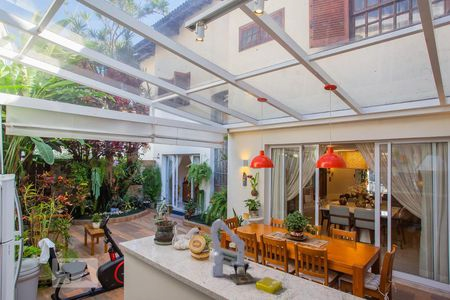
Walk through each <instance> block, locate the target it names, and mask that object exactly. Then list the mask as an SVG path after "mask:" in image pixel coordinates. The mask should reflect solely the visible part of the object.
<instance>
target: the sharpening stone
mask: <svg viewBox="0 0 450 300" xmlns="http://www.w3.org/2000/svg"><path fill="white" fill-rule="evenodd" d="M220 250H221V252H222V254H223V256H224V259H223V260H222V261H223V265H226V266H229V267H232V262H237V251H235V250H230V249H228V248H226V247H225V248H224V247H220Z"/></svg>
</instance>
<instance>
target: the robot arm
mask: <svg viewBox="0 0 450 300" xmlns="http://www.w3.org/2000/svg"><path fill="white" fill-rule="evenodd" d="M218 230H223V231H224V232H225V233H226V234H227V235H228V236H229V237H230V240H231V241H232V243H234V244H235V246H236V248H237V251H236V252H237V262H232V265H231V267H233V270H234V274H236V275H237V273H238V266H243V268H244V273H245V274H246V272H247V270H248V269H249V267H250V263H251V262H250V261H249V260H245V254H246V253H245V247H246V243H245V241H244V240H242V238H240V237H239V234H236V233H234V232H233V231H232V230H231V228H229V227H228V226H227V223H225V221H223V220H222V219H221V218H218V219H216V220H215V221H213V222H212V224H211V228H210V230H209V231H210V236H211V237H210V238H211V242H212V247H213V253H214V254H213V263H211V265H210V275H211V276H212V277H214V278H215V277H224V276H225V274H224V264H223V261H222V260H223V259H224V256H223V254H222V252H221V250H220V248H221V246H220V241H219V236H218Z"/></svg>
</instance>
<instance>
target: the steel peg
mask: <svg viewBox="0 0 450 300" xmlns="http://www.w3.org/2000/svg"><path fill="white" fill-rule="evenodd" d="M237 273H238V274H237V276H238V277H241V276H244V266H239V267H238V266H237Z"/></svg>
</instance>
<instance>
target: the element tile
mask: <svg viewBox="0 0 450 300" xmlns="http://www.w3.org/2000/svg"><path fill="white" fill-rule="evenodd" d="M255 288H256V289H257V290H260V291H262V292H265V293H269V294H271V295H274V294H276V293H277V292H279V291H280V290H281V289H283V282H282V281H280V280H277V279H275V278H271V277H269V276H265V277H262V278H261V279H259V280H258V281H257V280H256V283H255Z"/></svg>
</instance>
